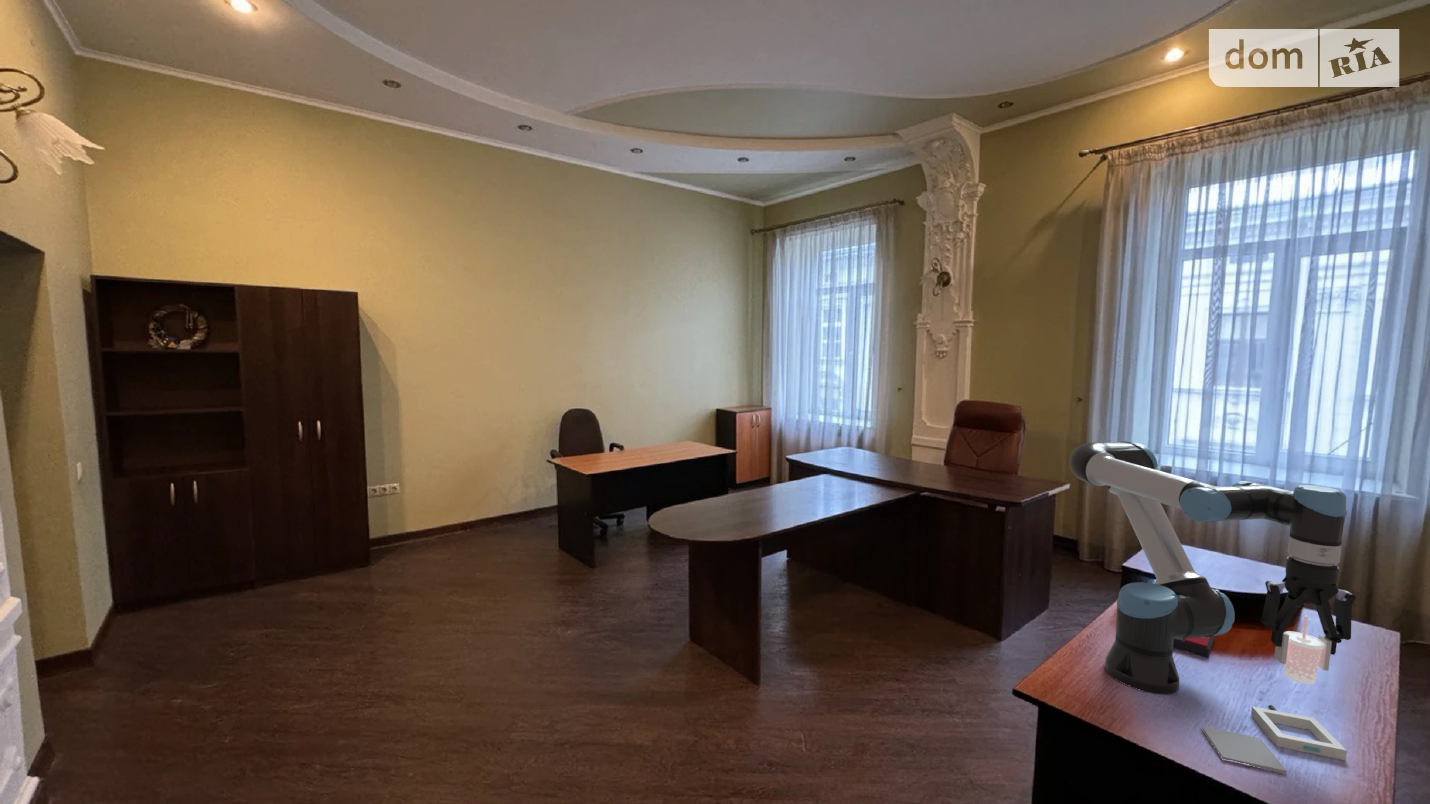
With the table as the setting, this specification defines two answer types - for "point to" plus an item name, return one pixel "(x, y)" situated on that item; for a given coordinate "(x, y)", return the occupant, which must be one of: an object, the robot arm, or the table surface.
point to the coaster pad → (1244, 749)
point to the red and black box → (1195, 645)
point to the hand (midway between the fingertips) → (1300, 663)
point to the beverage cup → (1303, 656)
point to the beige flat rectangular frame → (1322, 747)
